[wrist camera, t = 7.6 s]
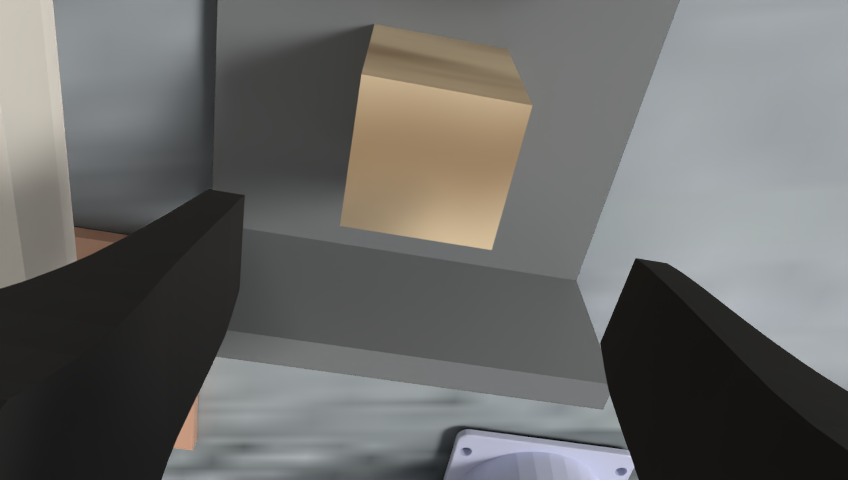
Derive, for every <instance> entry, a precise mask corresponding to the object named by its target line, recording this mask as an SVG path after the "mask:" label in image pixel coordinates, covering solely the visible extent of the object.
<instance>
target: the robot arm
mask: <svg viewBox="0 0 848 480" xmlns="http://www.w3.org/2000/svg"><path fill="white" fill-rule="evenodd" d="M244 202H245V195H241V194H235V193H229V192H223V191H216V190H208V191H206V192H204V193H202V194H200V195H198V196H197V197H195V198H193V199H192V200H190V201H188V202H187V203H185V204H183V205H182V206H180V207H178V208H177V209H175V210H173V211H172V212H170V213H168V214H166V215H165V216H163V217H161V218H159V219H158V220H156V221H154V222H152V223H151V224H149V225H147V226H145V227H144V228H142V229H140V230H138V231H137V232H135V233H133V234H131V235H129V236H127V237H125V238H123V239H121V240H119V241H117V242H115V243H113V244H111V245H109V246H107V247H105V248H103V249H101V250H99V251H97V252H95V253H93V254H91V255H89V256H86V257H84V258H82V259H80V260H77V261H75V262H73V263H70V264H68V265H65V266H63V267H60V268H58V269H55V270H53V271H50V272H47V273H45V274H42V275H40V276H37V277H34V278H32V279H29V280H26V281H23V282H20V283H17V284H13V285H10V286H7V287H4V288H0V480H161V479H162V476H163V473H164V470H165V468H166V465H167V462H168V459H169V457H170V454H171V452H172V449H173V447H174V445H175V442H176V440H177V438H178V435H179V433H180V431H181V429H182V427H183V425H184V423H185V420H186V418H187V416H188V414H189V412H190V410H191V408H192V406H193V404H194V401H195V399H196V397H197V395H198V393H199V391H200V389H201V387H202V385H203V382H204V380H205V378H206V376H207V374H208V372H209V370H210V368H211V366H212V363H213V361H214V359H215V357H216V355H217V353H218V351H219V348H220V346H221V344H222V342H223V340H224V337H225V335H226V332H227V329H228V326H229V323H230V320H231V316H232V313H233V310H234V307H235V303H236V300H237V297H238V293H239V290H240V273H241V255H242V237H243V219H244ZM600 344H601V351H602V357H603V363H604V370H605V375H606V380H607V385H608V390H609V393H610V396H611V399H612V402H613V405H614V408H615V411H616V414H617V417H618V420H619V423H620V426H621V429H622V432H623V435H624V438H625V441H626V444H627V447H628V450H624V449H616V448H609V447H601V446H594V445H586V444H578V443H571V442H563V441H556V440H548V439H540V438H533V437H525V436H518V435H510V434H502V433H495V432H487V431H480V430H472V429H465V430H462V431H460V432H459V433H458V434H457V436H456V439H455V442H454V446H453V449H452V452H451V456H450V459H449V462H448V466H447V469H446V472H445V476H444V479H443V480H628V478H629V476H630V474H631V472H632V470H633V468H634V467H635V470H636V473H637V476H638V479H639V480H848V391H846V390H845V389H843V388H842V387H840V386H838V385H837V384H835V383H833V382H832V381H830V380H828V379H827V378H825V377H824V376H822V375H821V374H819V373H818V372H816V371H815V370H813V369H811V368H810V367H808V366H807V365H806V364H804V363H803V362H801V361H800V360H798V359H797V358H796V357H794V356H793V355H791V354H790V353H788V352H787V351H786V350H784V349H783V348H781V347H780V346H778V345H777V344H776V343H774V342H773V341H772V340H770V339H769V338H767V337H766V336H765V335H763V334H762V333H761V332H759V331H758V330H757V329H755V328H754V327H753V326H751V325H750V324H749V323H747V322H746V321H745V320H744V319H742V318H741V317H740V316H738V315H737V314H736V313H734V312H733V311H732V310H731V309H729V308H728V307H727V306H725V305H724V304H723V303H722V302H720V301H719V300H718V299H716V298H715V297H714V296H713V295H711V294H710V293H709V292H707V291H706V290H705V289H704V288H702V287H701V286H700V285H698V284H697V283H696V282H694V281H693V280H691V279H690V278H689V277H687V276H686V275H685V274H683V273H682V272H680V271H679V270H677V269H676V268H674V267H672V266H670V265H669V264H667V263H661V262H655V261H649V260H643V259H637V258H636V259H635V261H634V264H633V266H632V268H631V271H630V273H629V276H628V278H627V280H626V283H625V285H624V288H623V290H622V292H621V295H620V297H619V300H618V302H617V304H616V307H615V309H614V312H613V314H612V316H611V319H610V321H609V324H608V326H607V328H606V331H605V333H604V336H603V338H602V340H601V343H600ZM463 448H467V449H463Z"/></svg>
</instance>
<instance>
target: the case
mask: <svg viewBox="0 0 848 480" xmlns="http://www.w3.org/2000/svg"><path fill="white" fill-rule="evenodd" d="M679 1H680V0H218V5H217V41H216V76H215V112H214V147H213V183H212V190H216V191H223V192H229V193H235V194H241V195H245V202H244V219H243V237H242V255H241V273H240V290H239V293H238V297H237V300H236V303H235V307H234V310H233V313H232V316H231V320H230V323H229V326H228V329H227V332H226V335H225V337H224V340H223V342H222V344H221V346H220V348H219V351H218V353H217V355H216V357H224V358H231V359H238V360H245V361H253V362H260V363H267V364H275V365H282V366H289V367H296V368H304V369H311V370H318V371H326V372H333V373H340V374H347V375H355V376H362V377H369V378H377V379H384V380H391V381H398V382H406V383H413V384H420V385H427V386H435V387H442V388H449V389H457V390H464V391H471V392H478V393H486V394H493V395H500V396H508V397H515V398H522V399H529V400H537V401H544V402H551V403H559V404H566V405H573V406H580V407H588V408H595V409H602V410H603V409H604V406H605V404H606V402H607V400H608V397H609V395H610V393H609V390H608V385H607V380H606V375H605V370H604V363H603V357H602V351H601V348H600V345H599V342H598V339H597V336H596V334H595V331H594V328H593V325H592V323H591V320H590V317H589V314H588V312H587V309H586V306H585V303H584V301H583V298H582V295H581V292H580V290H579V287H578V284H577V281H576V280H577V277H578V274H579V272H580V269H581V266H582V264H583V261H584V258H585V255H586V253H587V250H588V247H589V245H590V242H591V239H592V237H593V234H594V231H595V228H596V226H597V223H598V220H599V218H600V215H601V212H602V209H603V207H604V204H605V201H606V199H607V196H608V193H609V190H610V188H611V185H612V182H613V180H614V177H615V174H616V171H617V169H618V166H619V163H620V161H621V158H622V155H623V153H624V150H625V147H626V144H627V142H628V139H629V136H630V134H631V131H632V128H633V125H634V123H635V120H636V117H637V115H638V112H639V109H640V106H641V104H642V101H643V98H644V96H645V93H646V90H647V88H648V85H649V82H650V79H651V77H652V74H653V71H654V69H655V66H656V63H657V60H658V58H659V55H660V52H661V50H662V47H663V44H664V41H665V39H666V36H667V33H668V31H669V28H670V25H671V22H672V20H673V17H674V14H675V12H676V9H677V6H678V4H679ZM374 24H378V25H384V26H389V27H394V28H399V29H405V30H410V31H415V32H420V33H425V34H431V35H436V36H441V37H446V38H452V39H457V40H462V41H467V42H473V43H478V44H483V45H488V46H493V47H499V48H504V49H508V51H509V53H510V55H511V58H512V60H513V62H514V64H515V67H516V69H517V71H518V74H519V76H520V78H521V80H522V83H523V85H524V87H525V90H526V92H527V94H528V96H529V99H530V101H531V103H532V105H533V106H532V109H531V113H530V116H529V120H528V123H527V127H526V131H525V134H524V138H523V141H522V145H521V148H520V152H519V155H518V159H517V162H516V166H515V169H514V173H513V177H512V180H511V184H510V187H509V191H508V194H507V198H506V201H505V205H504V208H503V212H502V215H501V219H500V223H499V226H498V230H497V233H496V237H495V240H494V244H493V247H492V250H488V249H481V248H475V247H469V246H463V245H456V244H450V243H444V242H438V241H431V240H425V239H419V238H413V237H406V236H400V235H394V234H387V233H381V232H375V231H369V230H362V229H356V228H350V227H344V226H340V222H341V215H342V208H343V201H344V194H345V187H346V179H347V172H348V165H349V158H350V151H351V144H352V137H353V130H354V123H355V116H356V109H357V102H358V95H359V88H360V81H361V74H362V70H363V66H364V62H365V59H366V55H367V51H368V47H369V43H370V39H371V35H372V32H373V28H374Z"/></svg>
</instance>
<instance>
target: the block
mask: <svg viewBox="0 0 848 480" xmlns="http://www.w3.org/2000/svg"><path fill="white" fill-rule="evenodd" d="M532 106H533V105H532V103H531V101H530V99H529V96H528V94H527V92H526V90H525V87H524V85H523V83H522V80H521V78H520V76H519V74H518V71H517V69H516V67H515V64H514V62H513V60H512V58H511V55H510V53H509V51H508V49H504V48H499V47H493V46H488V45H483V44H478V43H473V42H467V41H462V40H457V39H452V38H446V37H441V36H436V35H431V34H425V33H420V32H415V31H410V30H405V29H399V28H394V27H389V26H384V25H378V24H374V28H373V32H372V35H371V39H370V43H369V47H368V51H367V55H366V59H365V62H364V66H363V70H362V74H361V81H360V88H359V95H358V102H357V109H356V116H355V123H354V130H353V137H352V144H351V151H350V158H349V165H348V172H347V179H346V187H345V194H344V201H343V208H342V215H341V222H340V226H344V227H350V228H356V229H362V230H369V231H375V232H381V233H387V234H394V235H400V236H406V237H413V238H419V239H425V240H431V241H438V242H444V243H450V244H456V245H463V246H469V247H475V248H481V249H488V250H492V247H493V244H494V240H495V237H496V233H497V230H498V226H499V223H500V219H501V215H502V212H503V208H504V205H505V201H506V198H507V194H508V191H509V187H510V184H511V180H512V177H513V173H514V169H515V166H516V162H517V159H518V155H519V152H520V148H521V145H522V141H523V138H524V134H525V131H526V127H527V123H528V120H529V116H530V113H531V109H532Z"/></svg>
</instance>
